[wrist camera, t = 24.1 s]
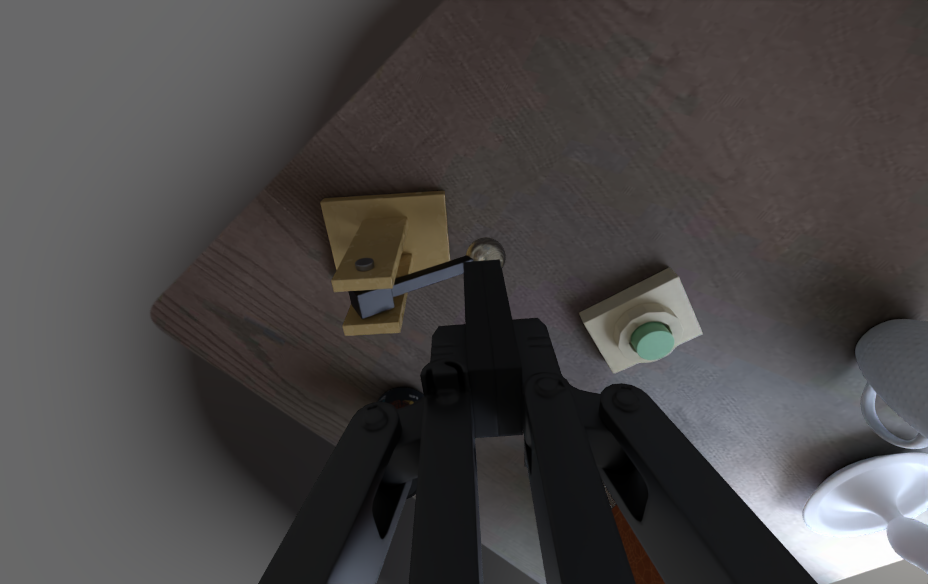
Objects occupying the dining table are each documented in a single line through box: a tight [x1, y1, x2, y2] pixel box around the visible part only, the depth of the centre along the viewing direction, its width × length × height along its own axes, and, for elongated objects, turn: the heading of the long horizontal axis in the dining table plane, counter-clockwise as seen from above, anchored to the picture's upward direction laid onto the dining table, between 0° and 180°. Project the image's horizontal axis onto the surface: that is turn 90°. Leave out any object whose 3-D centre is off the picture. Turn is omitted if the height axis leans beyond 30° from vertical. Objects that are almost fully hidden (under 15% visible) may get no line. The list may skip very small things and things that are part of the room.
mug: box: [855, 319, 928, 449], centre depth 47 cm, size 15×11×13 cm
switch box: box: [579, 267, 703, 374], centre depth 48 cm, size 11×9×4 cm
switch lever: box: [349, 237, 506, 319], centre depth 36 cm, size 14×4×4 cm
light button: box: [631, 322, 674, 360], centre depth 45 cm, size 4×4×2 cm
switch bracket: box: [320, 191, 450, 336], centre depth 37 cm, size 12×9×14 cm
